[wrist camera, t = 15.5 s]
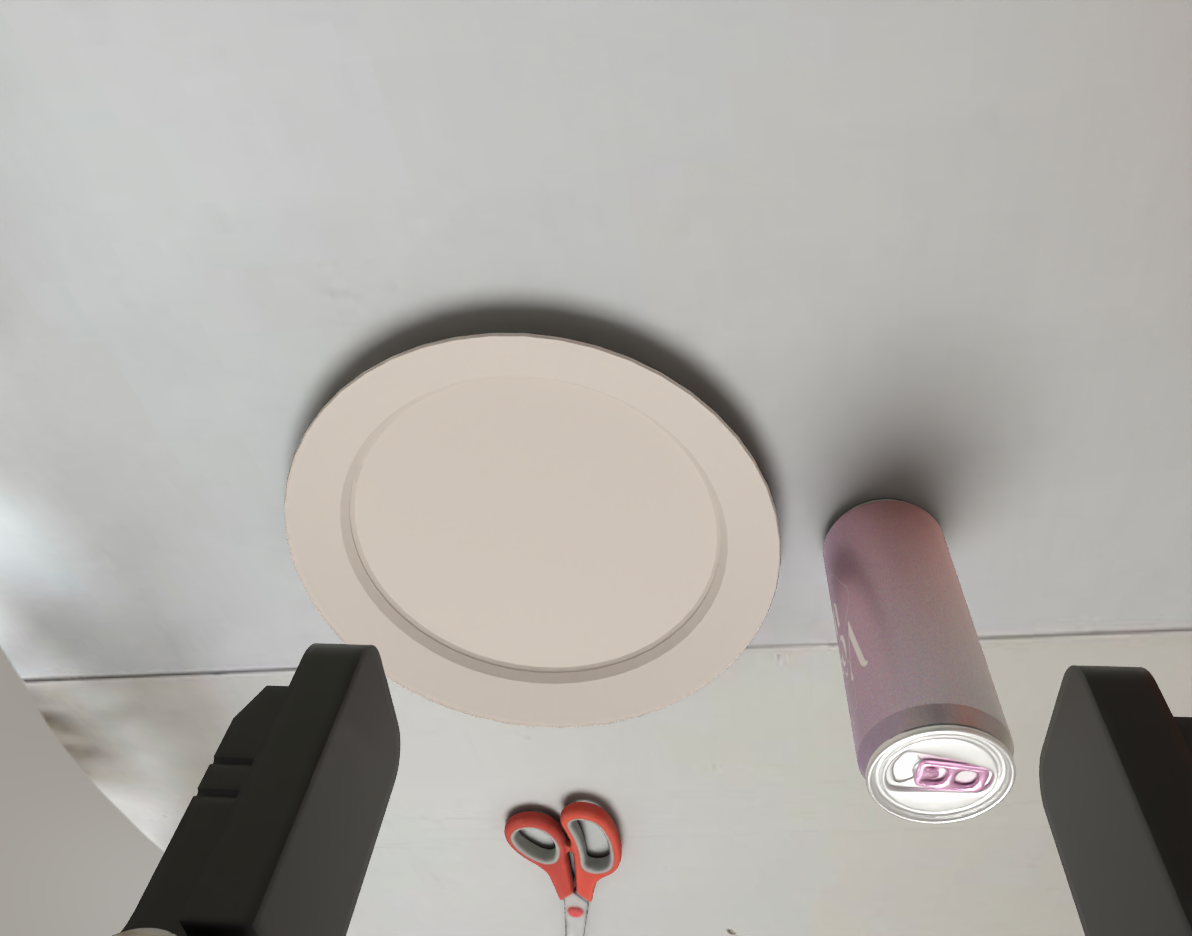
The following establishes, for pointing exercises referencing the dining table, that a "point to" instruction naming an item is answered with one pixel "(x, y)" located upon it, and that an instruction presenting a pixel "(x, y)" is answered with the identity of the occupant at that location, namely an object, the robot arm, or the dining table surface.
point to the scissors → (558, 858)
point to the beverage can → (914, 668)
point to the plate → (533, 529)
